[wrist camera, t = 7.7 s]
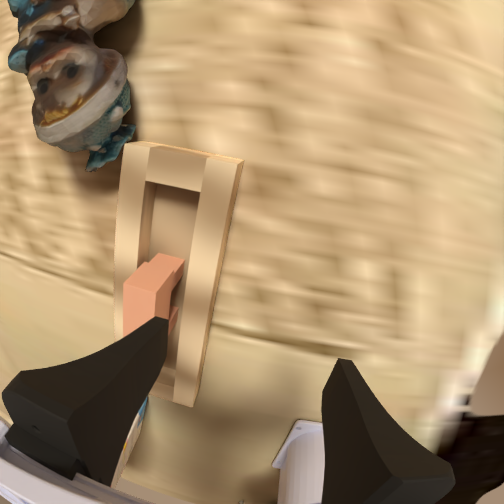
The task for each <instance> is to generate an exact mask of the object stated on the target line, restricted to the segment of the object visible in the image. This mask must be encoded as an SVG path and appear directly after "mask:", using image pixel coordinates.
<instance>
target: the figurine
mask: <svg viewBox="0 0 504 504" xmlns="http://www.w3.org/2000/svg"><path fill="white" fill-rule="evenodd" d="M134 2H135V0H8V3H9V6H10V10H11V12H12V15H13V16H14V17H16V18H18V32H19V41H18V43H17V44H16V45H15V46H14V47H13V48H12V50H11V52H10V54H9V56H8V66H9V68H10V69H11V70H13V71H16V72H19V73H24V74H25V75H26V76H27V79H28V81H29V84H30V86H31V89H32V91H33V93H34V96H35V101H34V103H33V106H32V116H33V124H34V127H35V130H36V134H37V137H38V139H40V140H41V141H43V142H46V143H48V144H49V145H51V146H58V147H59V148H61V149H63V150H65V151H70V152H78V151H83V150H89V151H90V152H89V153H90V156H89V159H88V162H87V166H86V169H87V171H89V172H92V171H96V170H97V168H99V167H101V168H102V166H103V165H104V164H105V163H107V162H110V161H114V160H115V159H116V158H117V156H118V155H119V153H120V151H121V148H122V146H123V145H124V143H125V142H127V141H130V140H131V139H132V136H133V133H134V131H135V129H136V125H133V124H121V123H122V117H123V116H124V115H125V114H126V113H127V112H128V110H129V109H130V108H131V104H130V86H129V83H128V80H127V65H126V62H125V60H124V59H123V56H122V55H121V54H120V53H119V52H117V51H116V50H114V49H102V48H98V47H97V46H96V45H95V44H94V41H93V37H94V34H95V33H96V32H97V31H100V29H101V28H102V27H104V26H106V25H108V24H109V23H112V22H115V21H117V20H120V19H122V18H123V17H124V16H125V15H126V13H127V12H128V10H129V9H130V8H131V7H132V5H133V4H134ZM86 169H85V170H86Z"/></svg>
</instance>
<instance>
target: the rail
mask: <svg viewBox="0 0 504 504" xmlns="http://www.w3.org/2000/svg"><path fill="white" fill-rule="evenodd" d="M243 162H244V160H241V159H237V158H232V157H227V156H222V155H218V154H213V153H208V152H203V151H197V150H192V149H187V148H181V147H176V146H170V145H164V144H158V143H152V142H146V141H138V142H131V143H125V144H124V150H123V158H122V166H121V175H120V184H119V194H118V205H117V218H116V234H115V255H114V332H115V342H117V341H118V340H120V339H122V338H123V283H124V282H125V281H126V280H127V279H128V278H129V277H130V276H131V275H132V274H133V273H134V272H135V271H136V270H137V269H138V268H139V267H140V266H141V265H142V264H143V263H144V262H148V263H149V262H150V261H151V260H152V259H153V258H154V257H155V256H156V255H157V254H158V253H161V254H165V255H169V256H173V257H176V258H180V259H184V260H185V263H184V270H183V275H182V277H181V278H180V280H179V281H178V283H177V284H176V286H175V287H174V288H173V290H172V291H171V299H170V305H172V306H175V307H179V309H178V317H177V321H176V323H175V325H174V327H173V329H172V330H171V332H170V334H169V336H168V344H167V357H166V359H165V362H164V364H163V367H162V369H161V372H160V374H159V376H158V378H157V380H156V382H155V383H154V385H153V387H152V389H151V390H150V392H149V394H150V395H153V396H156V397H159V398H162V399H165V400H168V401H171V402H175V403H178V404H181V405H185V406H188V407H192V408H193V405H194V402H195V399H196V396H197V393H198V390H199V387H200V381H201V375H202V369H203V364H204V358H205V353H206V347H207V342H208V336H209V331H210V325H211V320H212V314H213V309H214V304H215V299H216V293H217V288H218V283H219V278H220V273H221V268H222V263H223V258H224V253H225V248H226V243H227V238H228V233H229V228H230V223H231V218H232V213H233V208H234V204H235V199H236V194H237V189H238V185H239V180H240V175H241V171H242V166H243Z"/></svg>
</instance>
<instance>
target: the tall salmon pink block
mask: <svg viewBox="0 0 504 504" xmlns="http://www.w3.org/2000/svg"><path fill="white" fill-rule="evenodd" d="M184 263H185V260H184V259H180V258H176V257H173V256H169V255H165V254H161V253H158V254H157V255H156V256H155V257H154V258H153V259H152V260H151V261H150V262H149V263H148V262H144V263H143V264H142V265H141V266H140V267H139V268H138V269H137V270H136V271H135V272H134V273H133V274H132V275H131V276H130V277H129V278H128V279H127V280H126V281H125V282H124V283H123V337H125V336H126V335H128V334H129V333H131V332H133V331H134V330H136V329H137V328H139V327H140V326H141V325H143V324H144V323H146V322H147V321H149V320H150V319H152V318H153V317H155V316H157V317H161V318H164V319H168V320H169V329H168V336H169V334H170V332H171V330H172V329H173V327H174V325H175V323H176V321H177V317H178V309H179V307H175V306H172V305H170V299H171V291H172V290H173V288H174V287H175V286H176V284H177V283H178V281H179V280H180V278H181V277H182V275H183V270H184Z"/></svg>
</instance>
